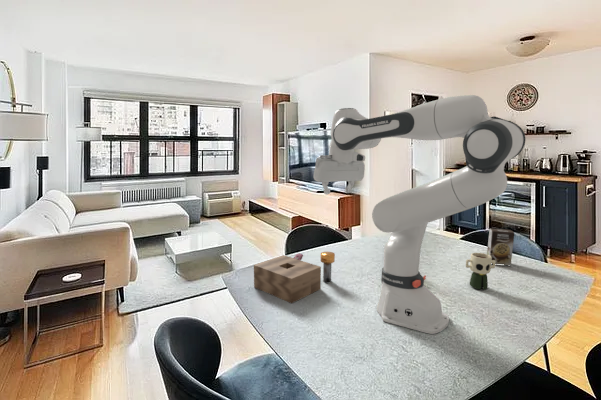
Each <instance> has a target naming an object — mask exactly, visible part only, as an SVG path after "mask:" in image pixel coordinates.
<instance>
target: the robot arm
mask: <svg viewBox="0 0 601 400" xmlns="http://www.w3.org/2000/svg"><path fill="white" fill-rule="evenodd" d="M489 115H490V114H489V110H488V106H487V104H486V102H485V100H484V99H483V98H482V97H480V96H479V95H475V94H470V95H455V96H449V97H444V98H443V97H442V98H440V99H436V100H432V101H428V102H425V103H421V104H419V105H416V106H413V107H409V108H407V109H404V110H401V111H398V112H394V113H392V114H391V113H389V114H387V115H382V116H377V117H371V118H368V117H366V116H364V115H362V114H361V113H360V112H359V111H358V110H357V109H356V108H353V107H343V108H339V109H337V110H335V112H334V114H333V117H332V120H331V129H330V138H331V140H330V143H329V149H328V151H329V152H328V154H327V155H323V154H321V155H318V156H317V157H316V159H315V166H314V171H313V179H314V181H316V182H318V183H321V185H322V187H323V193H324V194H325V195H329V194H331V189H330V188H328V185H329V182H331V183H333V182H334V183H335V182H348V184H347V186H345V188H344V192H345V193H347V194H349V193H352V188H353V187H354V186H355V183H356V182H359V181H363V179H364V177H365V171H366V169H365V163H364V162H365V161H366V156H365V155H364V154H362V153H359V152H357V151H356V150H367V149H368V150H369V149H373V148H375V147H377V146H378V145H379V144H380V142H381V141H382V139H386V138H397V139H398V138H399V139H400V138H401V139H409V140H417V141H418V140H419V141H441V140H448V139H453V138H454V139H455V138H463V140H462V141H463V142H462V151H463V154H464V158H465V165H466V166H464V167H462V168H459V169H457V170H454V171H453V172H450V173H448V174H446V175H444V176H441V177H439V178H436V179H434V180H431V181H429V182H427V183H424V184H421V185H418V186H416V187H412V188H410V189H407V190H404V191H402V192H399V193H396V194H394V195H392V196H389V197H386V198H384V199H383V200H381V201H379V202H378V203H376V204H375V205H374V207H373V209H372V213H371V216H372V217H371V218H372V222H373V224H374V226H375V227H376V229H378V230H379V231H380V232H382V233H388V234H389V233H390V235H389V238H388V239H387V241H386V242H385V244H384V248H383V250H384V251H383V266H382V268H381V277H380V278H381V279H380V280H381V281H380V282H381V289H380V294H379V299H378V303H377V305H376V311H377V313H378V314H379V315H380V316H381V320H382V321H383V322H385V323H388V324H392V325H396V326H400V327H403V328H408V329H411V330H414V331H417V332H422V333H426V334H428V335H433V334H438V333H440V332H442V331H444V330H445V329H446V328H447V327H448V325H449V323H450V318H449V315H448V314H447V313H445V312H444V311H442V310H443V309H442V303H441V300H440V299H439V298H438V297H437V295H435V294H434V293H433V292H432V291H431V290H430V289H429V288H428V287H426V285H425V284H424V283H425V280H426V279H427V275H424V276H423V275H422V274H421V272H420V271H419V270H420V256H421V248H422V244H423V240H424V236H425V234H426V230H427V227H428V223H432V222H435V221H437V220H441V219H444V218H447V217H449V216H452V215H455V214H458V213H461V212H465V211H468V210H470V209H473V208H476V207H478V206H481V205H483V204H486V203H488V202H490V201H491V200H493V199H496V198H498V197H499V196H500V195H502V194H503V193H504V192H506V189H507V187H508V176H507V173H506V172H505V165H506V164H507V162H508V161H510V160H512V159H514V158H516V157H517V156H518V155H520V153H521V152H522V151H523V149H524V147H525V145H526V134H525V132H524V131H523V128H522V127H521V126H520V125H518V124H517V123H515V122H513V121H510V120H507V119H504V118H501V117H498V116H489Z"/></svg>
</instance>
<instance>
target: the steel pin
mask: <svg viewBox="0 0 601 400" xmlns="http://www.w3.org/2000/svg"><path fill="white" fill-rule="evenodd" d="M335 255H336V254H335V252H332V251H323V252H320V263H323V271H322V272H323V274H322V275H323V276H322V282H324V283H326V284H327V283H331V282H332V264H333V263H335V258H336V256H335Z"/></svg>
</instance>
